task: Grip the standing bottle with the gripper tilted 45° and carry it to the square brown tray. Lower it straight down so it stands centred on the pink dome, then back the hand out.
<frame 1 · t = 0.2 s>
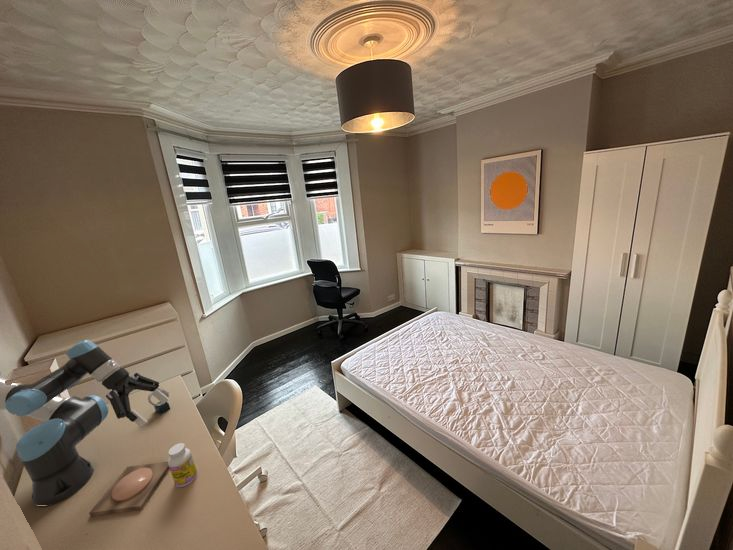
hand: (156, 412, 111), 16 cm above the table, tool tilted 35°, fingers open, 13 cm apart
supplement bottle: (187, 479, 100), on the table
square brown tray: (134, 488, 99), on the table
pink dome: (133, 483, 98), on the square brown tray, point 1 cm above the table
watch: (163, 409, 138), on the table
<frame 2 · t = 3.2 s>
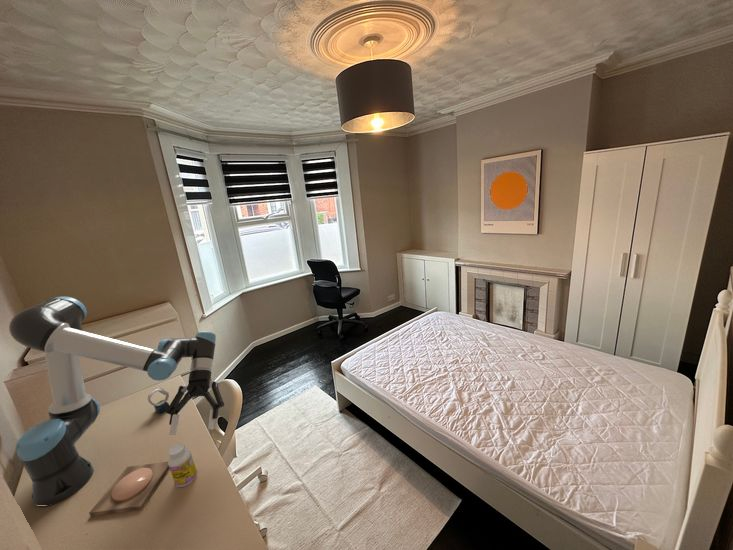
hand: (191, 432, 104), 12 cm above the table, tool tilted 45°, fingers open, 13 cm apart
nothing on the table moved.
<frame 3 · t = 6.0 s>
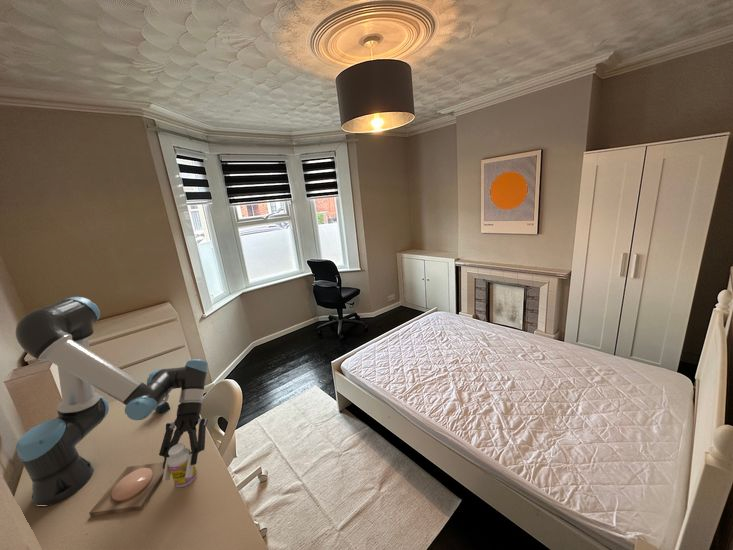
hand: (177, 478, 95), 4 cm above the table, tool tilted 45°, fingers closed on supplement bottle, 7 cm apart
supplement bottle: (186, 479, 100), on the table, touching gripper
everything else where it was.
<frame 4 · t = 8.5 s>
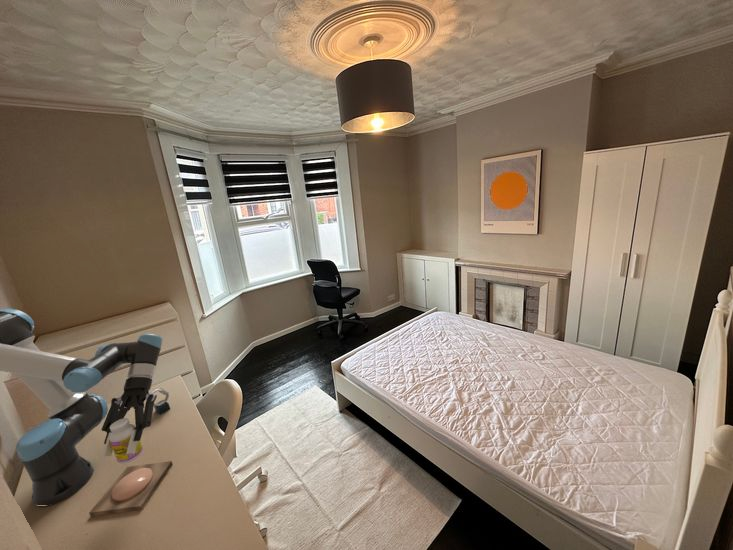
hand: (118, 454, 91), 17 cm above the table, tool tilted 45°, fingers closed on supplement bottle, 7 cm apart
supplement bottle: (131, 456, 96), point 13 cm above the table, touching gripper
everything else where it was.
when the fingers open (8 cm above the table, at t = 11.3 s): supplement bottle drops 1 cm, resting on pink dome.
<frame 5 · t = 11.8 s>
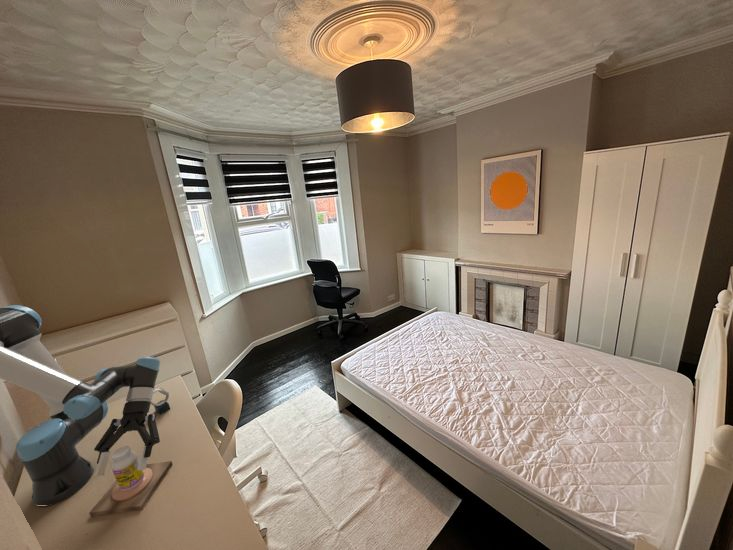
hand: (120, 472, 94), 9 cm above the table, tool tilted 45°, fingers open, 13 cm apart
supplement bottle: (133, 482, 98), point 2 cm above the table, touching pink dome
everything else where it was.
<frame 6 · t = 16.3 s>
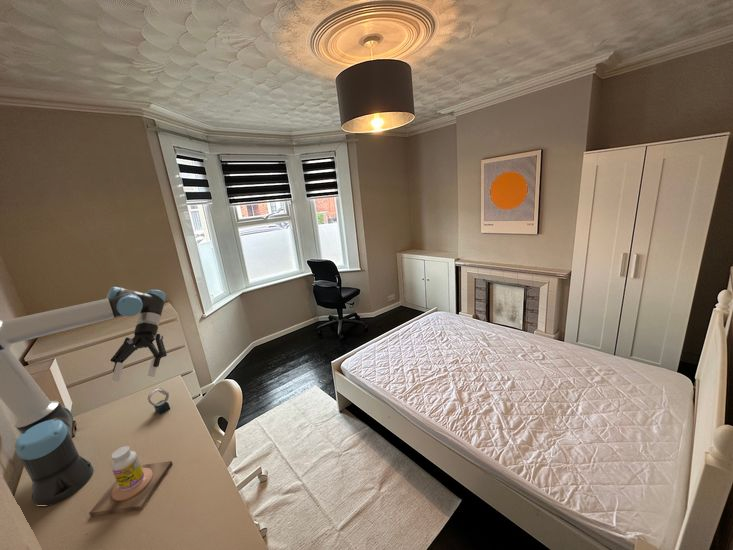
hand: (133, 378, 111), 30 cm above the table, tool tilted 45°, fingers open, 13 cm apart
nothing on the table moved.
at the end: supplement bottle 0.2 cm from the pink dome (horizontally); supplement bottle tilted 0°; supplement bottle point 2.3 cm above the table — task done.
